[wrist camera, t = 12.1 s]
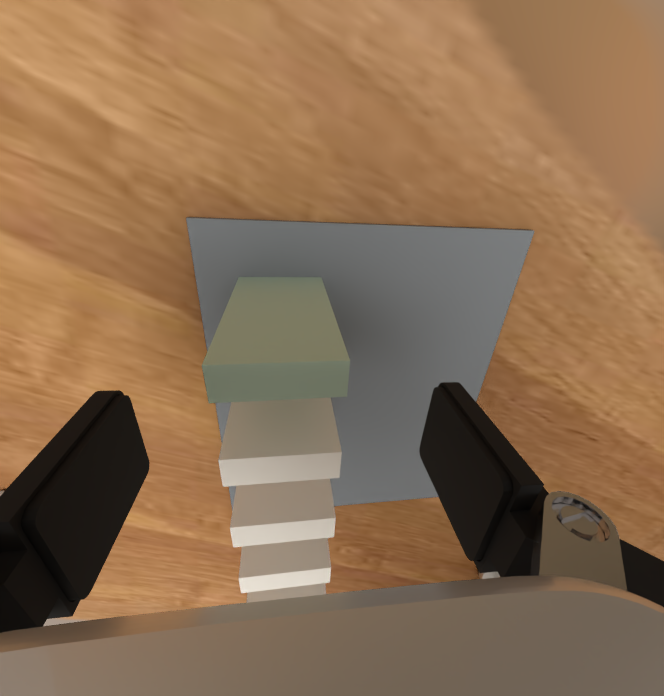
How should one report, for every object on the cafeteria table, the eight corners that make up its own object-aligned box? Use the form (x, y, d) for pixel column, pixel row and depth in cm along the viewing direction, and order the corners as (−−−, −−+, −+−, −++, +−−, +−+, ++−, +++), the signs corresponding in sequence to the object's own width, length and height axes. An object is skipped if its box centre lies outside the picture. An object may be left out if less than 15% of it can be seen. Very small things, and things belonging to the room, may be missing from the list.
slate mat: (442, 492, 33) (443, 496, 33) (233, 511, 30) (233, 514, 30) (530, 229, 21) (534, 230, 20) (187, 217, 18) (186, 218, 17)
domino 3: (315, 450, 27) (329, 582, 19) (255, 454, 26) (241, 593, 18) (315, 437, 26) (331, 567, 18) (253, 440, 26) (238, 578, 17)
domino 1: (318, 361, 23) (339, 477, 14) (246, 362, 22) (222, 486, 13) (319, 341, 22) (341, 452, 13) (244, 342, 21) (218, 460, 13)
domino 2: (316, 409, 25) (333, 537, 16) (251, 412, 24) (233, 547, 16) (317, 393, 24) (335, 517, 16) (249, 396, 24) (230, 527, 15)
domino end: (320, 301, 21) (347, 396, 12) (241, 301, 20) (208, 403, 11) (321, 277, 20) (350, 360, 11) (238, 276, 19) (202, 365, 11)
